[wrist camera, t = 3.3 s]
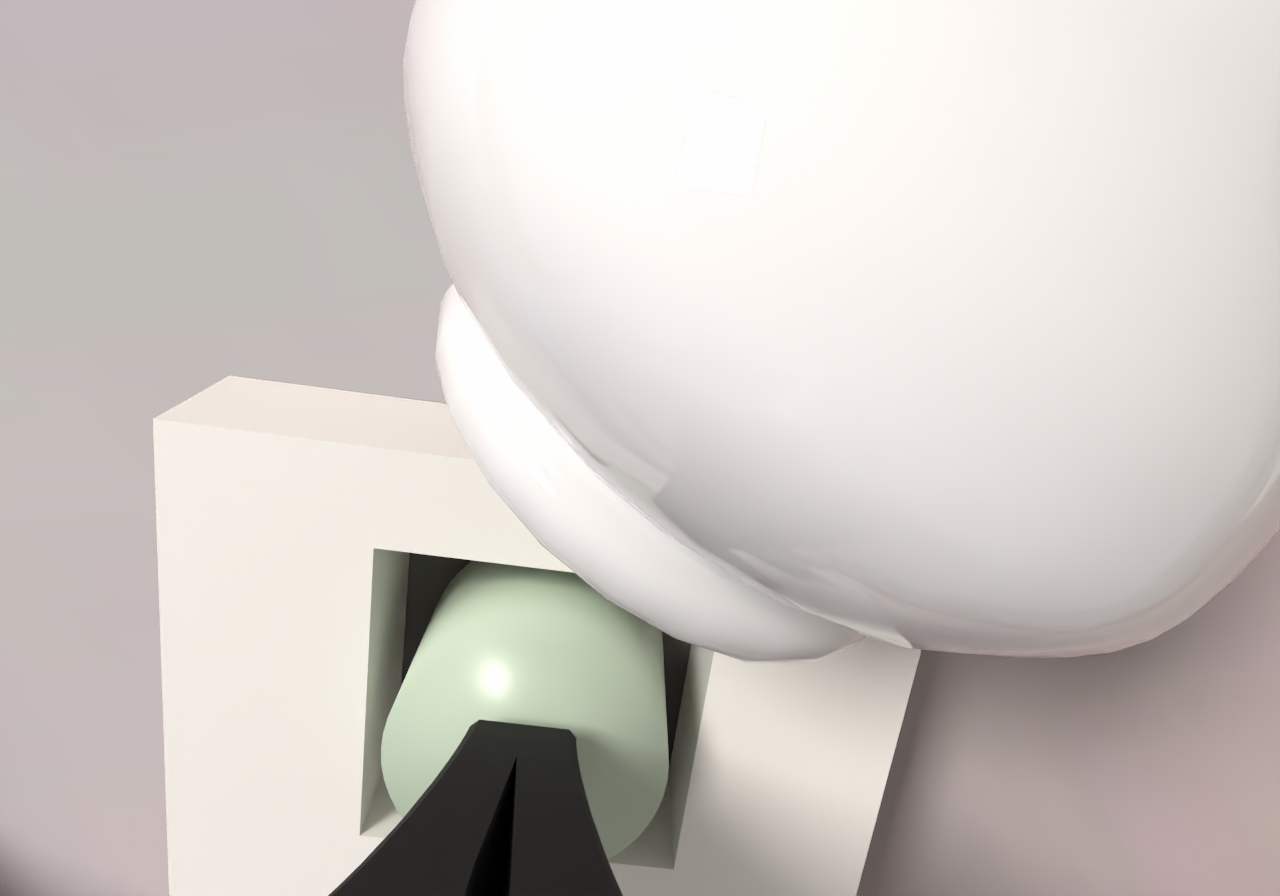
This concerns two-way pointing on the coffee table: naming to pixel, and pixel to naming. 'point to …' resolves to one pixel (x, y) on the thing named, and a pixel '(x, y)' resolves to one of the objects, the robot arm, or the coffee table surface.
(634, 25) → the flower vase
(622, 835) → the sage button
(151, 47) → the coffee table surface
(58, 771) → the coffee table surface
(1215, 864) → the coffee table surface
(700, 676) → the panel
